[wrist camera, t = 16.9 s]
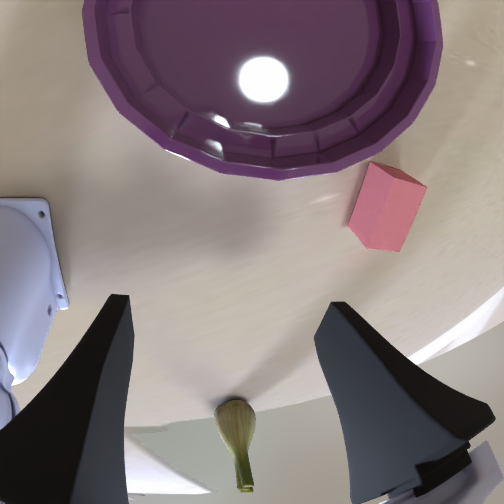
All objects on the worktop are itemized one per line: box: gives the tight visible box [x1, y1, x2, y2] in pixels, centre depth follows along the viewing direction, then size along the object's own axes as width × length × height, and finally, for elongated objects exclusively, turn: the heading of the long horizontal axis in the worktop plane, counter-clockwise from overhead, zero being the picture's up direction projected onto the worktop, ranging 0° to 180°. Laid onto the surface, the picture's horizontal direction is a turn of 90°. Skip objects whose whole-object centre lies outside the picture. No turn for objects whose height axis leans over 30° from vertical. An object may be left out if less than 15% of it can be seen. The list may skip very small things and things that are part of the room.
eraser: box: [348, 161, 427, 252], centre depth 18 cm, size 5×3×3 cm, turn 169°
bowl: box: [82, 0, 443, 181], centre depth 10 cm, size 17×17×4 cm
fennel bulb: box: [214, 400, 256, 493], centre depth 28 cm, size 6×5×12 cm
